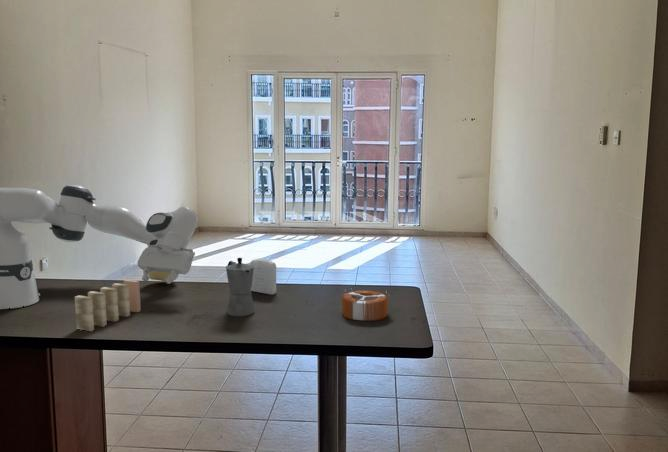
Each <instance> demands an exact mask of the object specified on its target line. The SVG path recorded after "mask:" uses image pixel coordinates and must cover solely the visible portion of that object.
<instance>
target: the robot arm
mask: <svg viewBox="0 0 668 452" xmlns="http://www.w3.org/2000/svg"><path fill="white" fill-rule="evenodd" d="M96 200H97V199H96V198H94V196H93V193H92V192H91V191H90V190H89V189H88V188H86V187H84V186H83V185H80V184H79V185H78V184H69V185H65V186H63V187H62V189H61V192H60V197H59V201H58V203H57V201H56V200H55V199H54V198H52V197H50V196H48V195H46V193H45V192H43V190H39V189H34V188H30V187H29V188H28V187H0V310H8V309H9V308H10V309H18V308H23V306H24V307H28V306H31V305H34V304H36V303H38V302H39V301H40V297H41V293H40V292H39V291H38V287H37V281H36V276H35V274H34V273H33V271H34V267H33V266H34V265H33V261H32V259H31V250H30V249H31V247H30V240H29V237H28V235H26V234H25V233H23V232H21V231H19V230H18V229H16V228H15V227H14V226H13V223H12V222H19V223H24V224H50V225H51V226H50V227H49V230H51V231H52V234H53V235H54V236H55V237H56V238H57V239H59V240H60V241H63V242H66V243H75V242H79V241H81V240H82V239H83V238H84V237H85V233H86V232H85V229H86V226H87V224H88V225H89V227H91V228H93V230H96V231H99V232H101V233H105V234H109V235H114V236H118V237H122V238H125V239H126V238H127V239H130V240H134V241H136V242H139V243H142V244H145V245H146V246H147V247H145V248H144V249H143V251H141V254H140V255H139V257H138V259H137V262H136V264H137V266H138V268H140V269H141V270H142V272H143V273H142V274H143V275H142V277H141V281H143V282H149V280H150V277H149V276H148V273H150V271H158V272H167V273H171V274H170V275H169V276H168V277H166V278H165V280H164V281H163V282H164V283H165V284H167V285H168V284H169V285H170V284H171V283H172V282H171V281H172V280H173V279H174V278H175V277H176V276H177V275H178V274H179V275H187V274H188V273H189V272H190V269H191V267H192V265H193V259H194V257H195V255H196V253H195V250H194V249H191V248H187V247H188V245H189V240H190V239H191V237H192V236H193V235H194V233H195V230H196V228H197V225H198V222H199V217H198V215H197V214H196V211H194V210H192V209H191V208H189V207H186V206H180V207H178V208H177V209H176V210H173V211H170V212H169V211H168V212H156V213H153V214H151V216H150V217H149V218H148V220H147V221H146V224H145V223H144V222H143V221H142V220H141V219H140V218H138V216H136V214H134V213H133V212H132V211H131V210H130V209H128V208H125V207H123V206H119V205H112V204H95V202H94V201H96ZM179 275H178V276H179ZM39 296H40V297H39Z"/></svg>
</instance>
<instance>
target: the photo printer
mask: <svg viewBox="0 0 668 452" xmlns="http://www.w3.org/2000/svg"><path fill="white" fill-rule="evenodd" d="M249 265H253V266H254V271H253V279H252V287H251V292H255V293H259V294H260V293H262V294H265V295H275V294H276V293H277V264H276V263H275V262H274V261H272V260H270V259H267V258H255V259H252V260H251V261H250V262H249Z"/></svg>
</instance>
